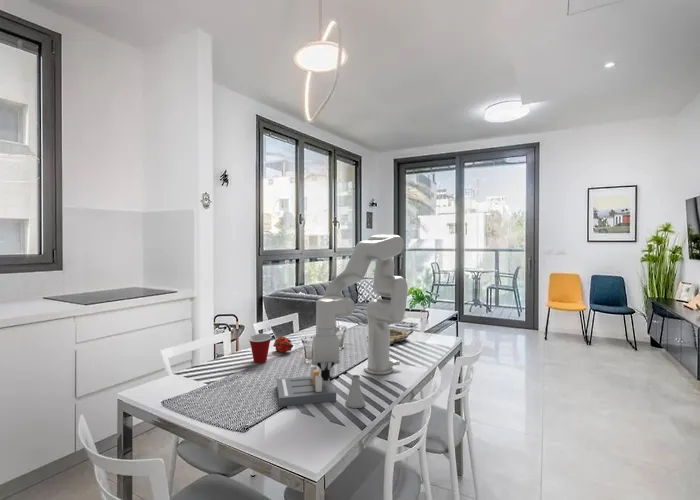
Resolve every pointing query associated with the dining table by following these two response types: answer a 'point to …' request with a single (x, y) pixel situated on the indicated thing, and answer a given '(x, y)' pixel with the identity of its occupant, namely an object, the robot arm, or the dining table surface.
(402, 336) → the pie
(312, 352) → the robot arm
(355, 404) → the flask
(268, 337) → the plastic cup
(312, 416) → the dining table surface
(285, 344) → the dragon fruit
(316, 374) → the block
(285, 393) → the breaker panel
